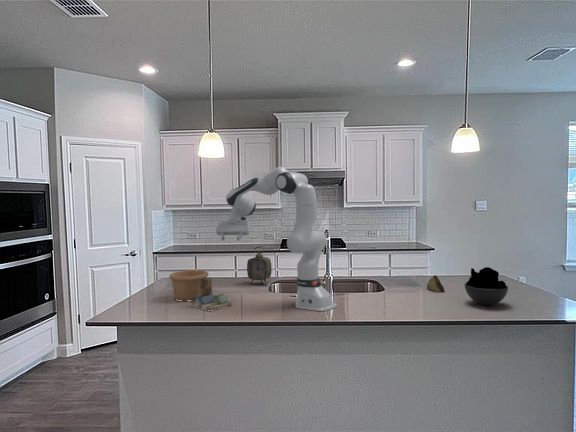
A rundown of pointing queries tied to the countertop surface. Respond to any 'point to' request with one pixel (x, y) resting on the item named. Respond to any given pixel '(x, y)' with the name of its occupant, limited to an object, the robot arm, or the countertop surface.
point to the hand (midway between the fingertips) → (230, 239)
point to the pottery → (187, 284)
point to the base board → (211, 306)
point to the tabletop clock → (259, 267)
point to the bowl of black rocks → (486, 287)
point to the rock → (435, 284)
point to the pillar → (206, 286)
